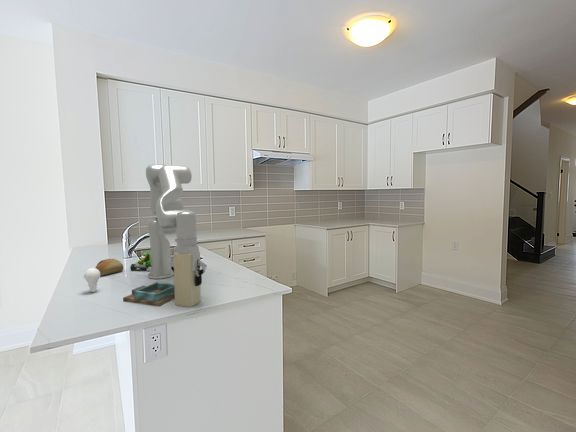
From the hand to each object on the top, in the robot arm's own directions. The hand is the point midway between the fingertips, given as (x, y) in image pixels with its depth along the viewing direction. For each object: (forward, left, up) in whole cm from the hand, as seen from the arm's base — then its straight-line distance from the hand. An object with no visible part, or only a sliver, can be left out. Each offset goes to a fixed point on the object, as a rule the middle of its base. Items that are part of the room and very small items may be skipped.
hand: (188, 283), depth 118 cm
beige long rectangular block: (0, 0, -8) cm, 8 cm away
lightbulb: (-49, -3, -8) cm, 50 cm away
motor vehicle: (-58, +39, -8) cm, 70 cm away
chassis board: (-18, 0, -8) cm, 20 cm away
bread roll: (-69, +22, -8) cm, 73 cm away
